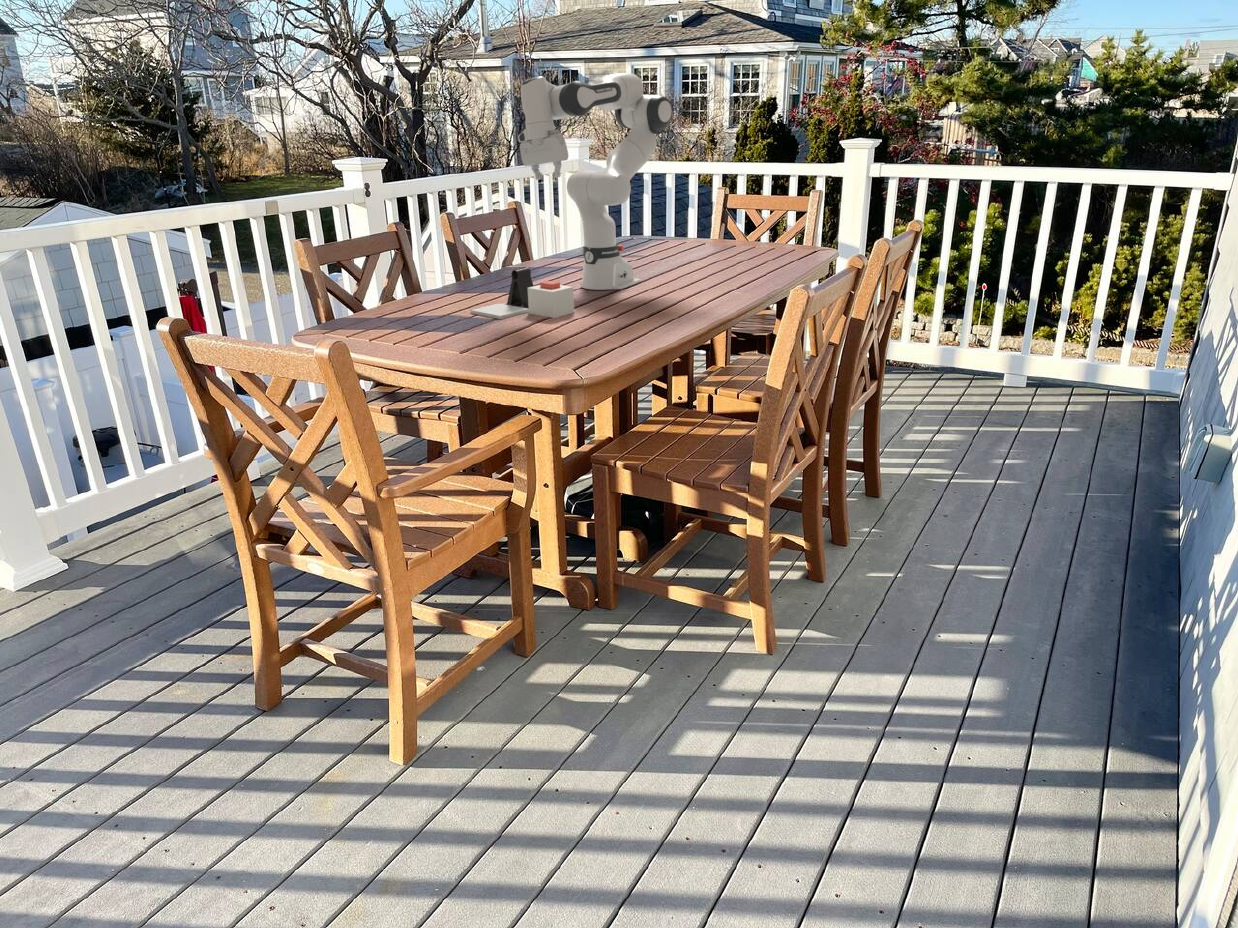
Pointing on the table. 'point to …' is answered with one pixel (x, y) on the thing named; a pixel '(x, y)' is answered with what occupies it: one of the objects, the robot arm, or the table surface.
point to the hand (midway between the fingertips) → (548, 178)
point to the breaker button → (550, 285)
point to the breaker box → (551, 301)
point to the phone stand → (520, 288)
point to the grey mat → (499, 311)
